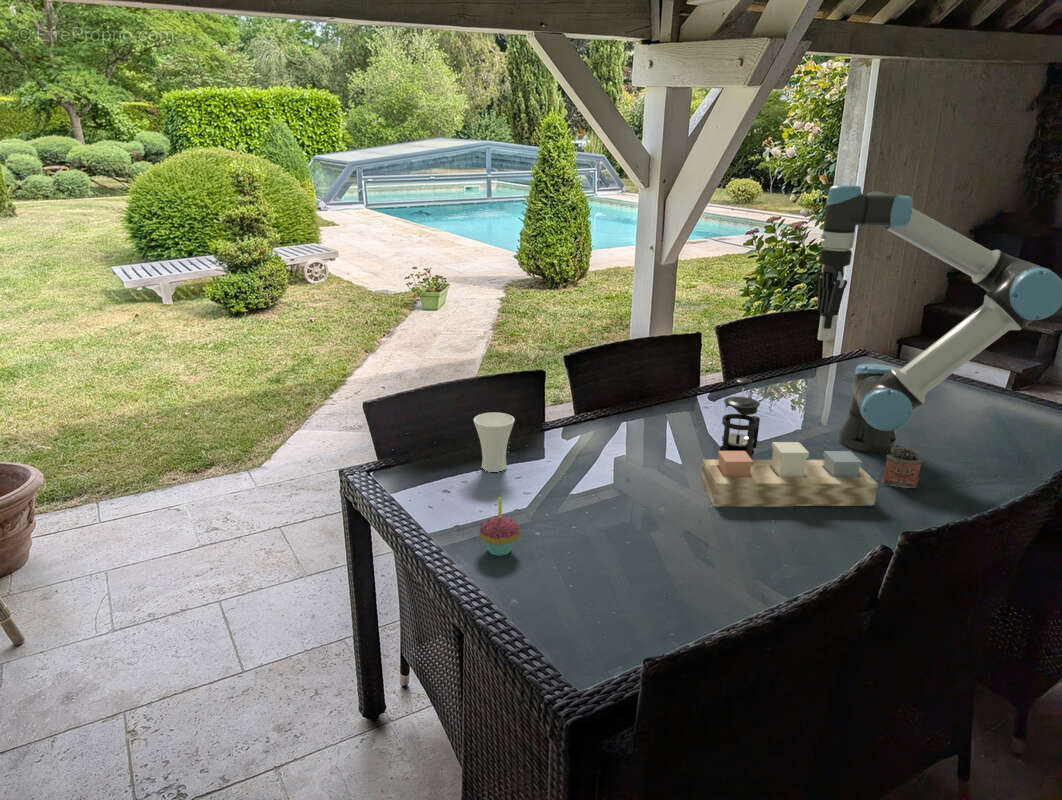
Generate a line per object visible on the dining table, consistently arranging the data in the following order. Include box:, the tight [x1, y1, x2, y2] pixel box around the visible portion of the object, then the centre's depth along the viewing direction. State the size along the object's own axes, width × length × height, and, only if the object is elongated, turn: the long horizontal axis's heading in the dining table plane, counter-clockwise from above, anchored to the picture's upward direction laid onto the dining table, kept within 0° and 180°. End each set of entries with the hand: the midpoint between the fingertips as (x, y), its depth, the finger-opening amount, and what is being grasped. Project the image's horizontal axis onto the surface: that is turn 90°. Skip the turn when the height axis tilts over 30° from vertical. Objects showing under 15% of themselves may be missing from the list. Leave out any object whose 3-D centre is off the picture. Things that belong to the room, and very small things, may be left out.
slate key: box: [822, 450, 863, 477], centre depth 186 cm, size 7×7×6 cm
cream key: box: [771, 441, 810, 477], centre depth 185 cm, size 7×7×6 cm
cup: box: [473, 411, 516, 473], centre depth 197 cm, size 10×10×14 cm
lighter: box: [881, 446, 923, 487], centre depth 192 cm, size 8×3×10 cm, turn 71°
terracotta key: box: [717, 450, 753, 477], centre depth 185 cm, size 7×7×6 cm
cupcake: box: [479, 493, 522, 557], centre depth 158 cm, size 9×8×12 cm
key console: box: [699, 459, 879, 508], centre depth 187 cm, size 38×14×6 cm, turn 92°
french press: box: [717, 377, 761, 460], centre depth 203 cm, size 12×9×23 cm
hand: (823, 339), depth 201 cm, fingers closed
